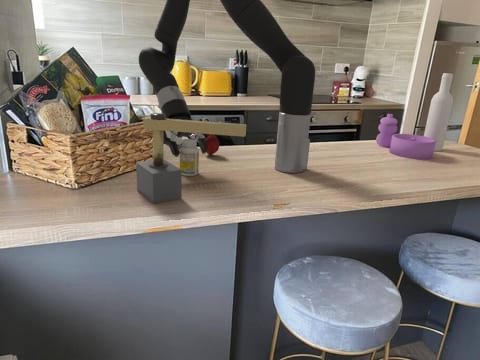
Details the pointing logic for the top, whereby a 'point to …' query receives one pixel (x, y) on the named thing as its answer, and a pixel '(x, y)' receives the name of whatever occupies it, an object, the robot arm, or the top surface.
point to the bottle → (440, 113)
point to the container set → (404, 141)
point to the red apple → (212, 144)
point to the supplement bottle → (189, 157)
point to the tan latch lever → (161, 124)
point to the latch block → (159, 181)
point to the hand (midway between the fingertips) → (191, 153)
